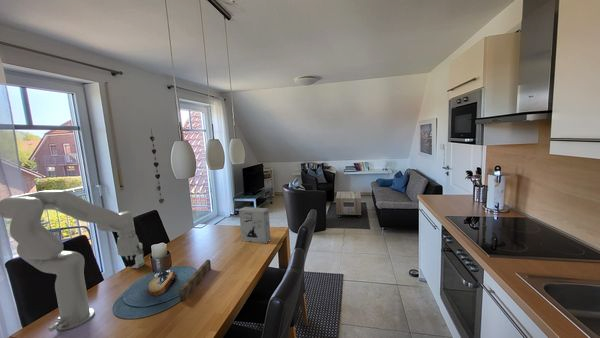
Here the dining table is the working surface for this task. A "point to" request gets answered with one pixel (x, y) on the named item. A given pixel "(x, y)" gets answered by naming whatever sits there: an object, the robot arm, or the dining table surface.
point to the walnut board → (194, 280)
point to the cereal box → (255, 224)
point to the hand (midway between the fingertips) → (132, 265)
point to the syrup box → (139, 258)
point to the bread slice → (159, 289)
